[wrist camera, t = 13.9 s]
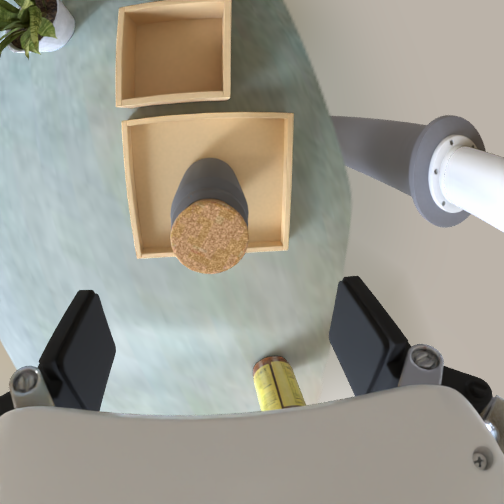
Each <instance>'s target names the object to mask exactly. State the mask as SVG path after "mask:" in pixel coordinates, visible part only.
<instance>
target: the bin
mask: <svg viewBox="0 0 504 504" xmlns="http://www.w3.org/2000/svg"><path fill="white" fill-rule="evenodd" d="M230 97H231V0H164V1H156V2H149V3H143V4H137V5H131V6H126V7H121V8H119V16H118V28H117V45H116V107H122V108H137V107H145V106H153V105H163V104H174V103H187V102H204V101H227V100H228V99H229V98H230Z"/></svg>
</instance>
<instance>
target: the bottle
mask: <svg viewBox="0 0 504 504" xmlns="http://www.w3.org/2000/svg"><path fill="white" fill-rule="evenodd" d="M248 214H249V212H248V205H247V201H246V198H245V196H244V193H243V191H242V188H241V186H240V184H239V181H238V179H237V177H236V175H235V173H234V171H233V170H232V168H231V167H230V166H229V165H228V164H227V163H226V162H224V161H222V160H220V159H217V158H203V159H200V160H198V161H196V162H194V163H193V164H192V165H191V166H190V167H189V168H188V169H187V170H186V172H185V174H184V176H183V178H182V180H181V182H180V184H179V187H178V189H177V191H176V193H175V196H174V199H173V201H172V205H171V212H170V217H171V246H172V249H173V252H174V254H175V255H176V257H177V258H178V260H179V261H180V262H181V263H182V264H183V265H184V266H186V267H187V268H189V269H191V270H193V271H196V272H199V273H204V274H215V273H220V272H223V271H226V270H228V269H230V268H232V267H233V266H234V265H236V264H237V263H238V262H239V261H240V260H241V259H242V257H243V256H244V254H245V252H246V250H247V247H248V242H249V233H248Z"/></svg>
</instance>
